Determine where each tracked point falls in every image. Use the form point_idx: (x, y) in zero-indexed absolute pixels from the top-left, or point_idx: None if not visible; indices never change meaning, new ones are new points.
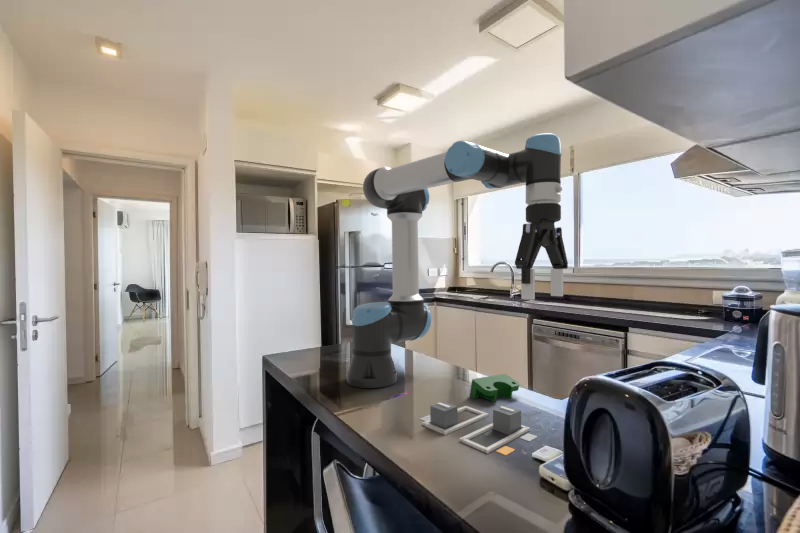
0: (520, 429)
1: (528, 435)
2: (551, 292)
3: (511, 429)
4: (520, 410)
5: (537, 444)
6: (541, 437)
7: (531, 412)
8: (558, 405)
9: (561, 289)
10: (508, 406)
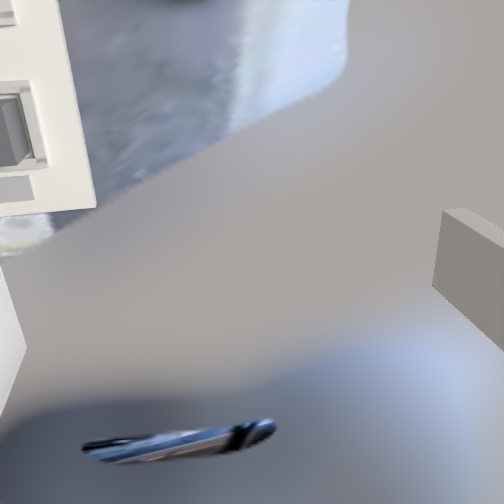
0: None
1: (17, 184)
2: (456, 227)
3: None
4: (13, 165)
5: None
6: None
7: (191, 72)
8: (302, 93)
9: (460, 311)
10: (4, 123)
